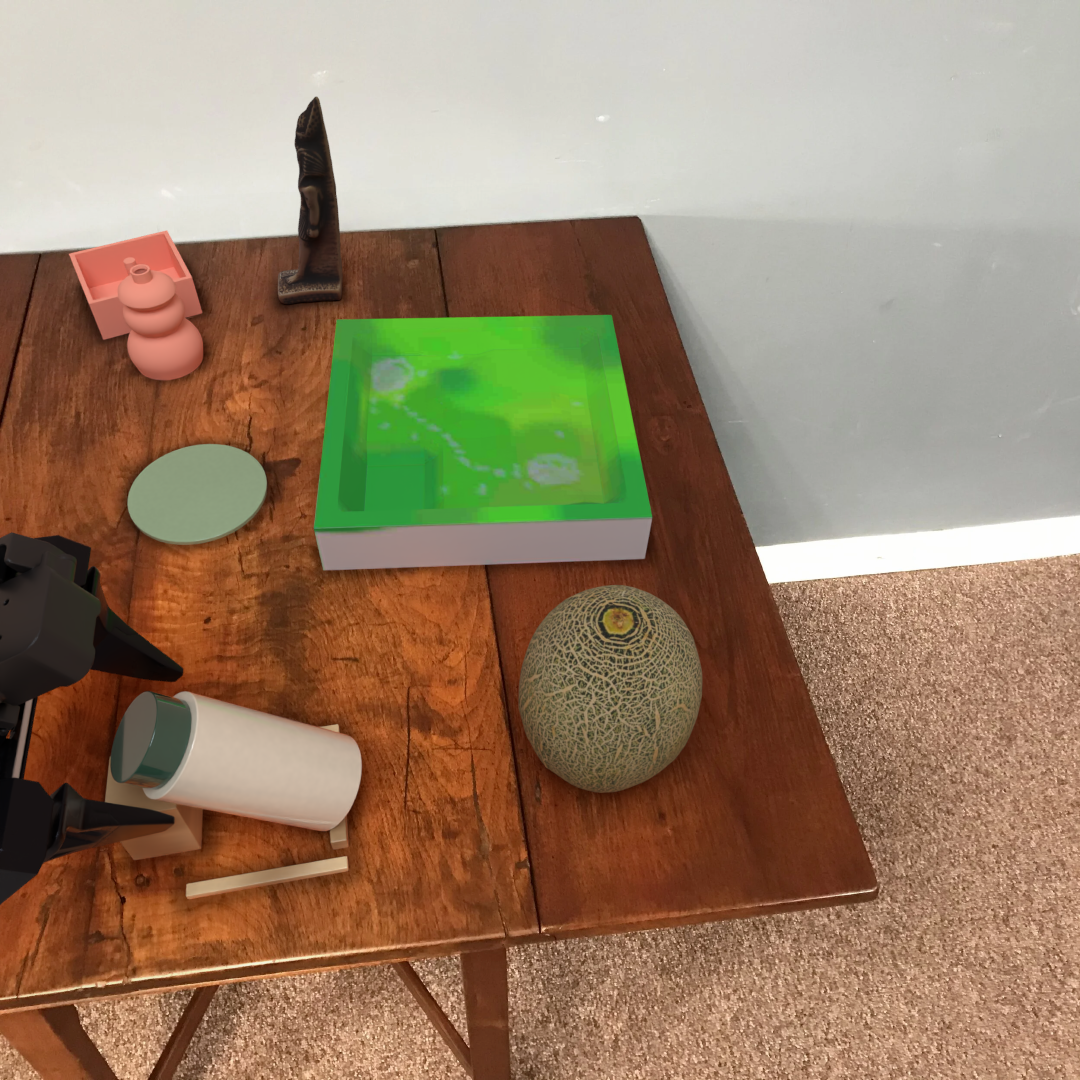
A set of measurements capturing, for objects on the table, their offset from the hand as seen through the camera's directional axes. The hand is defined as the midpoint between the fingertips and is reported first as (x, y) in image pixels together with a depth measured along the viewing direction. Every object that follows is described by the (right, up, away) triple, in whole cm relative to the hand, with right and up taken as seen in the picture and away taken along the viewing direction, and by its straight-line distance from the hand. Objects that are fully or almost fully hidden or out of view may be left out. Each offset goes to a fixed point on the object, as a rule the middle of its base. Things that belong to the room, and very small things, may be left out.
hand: (175, 745), depth 52 cm
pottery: (-17, +32, +39) cm, 53 cm away
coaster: (-8, +15, +25) cm, 30 cm away
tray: (+15, +19, +29) cm, 38 cm away
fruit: (+24, -3, +12) cm, 27 cm away
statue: (-3, +36, +44) cm, 57 cm away
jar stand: (+1, -6, +8) cm, 10 cm away
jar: (+3, -6, +8) cm, 10 cm away
